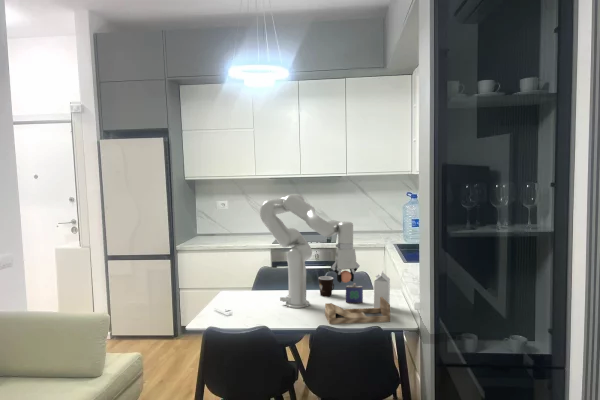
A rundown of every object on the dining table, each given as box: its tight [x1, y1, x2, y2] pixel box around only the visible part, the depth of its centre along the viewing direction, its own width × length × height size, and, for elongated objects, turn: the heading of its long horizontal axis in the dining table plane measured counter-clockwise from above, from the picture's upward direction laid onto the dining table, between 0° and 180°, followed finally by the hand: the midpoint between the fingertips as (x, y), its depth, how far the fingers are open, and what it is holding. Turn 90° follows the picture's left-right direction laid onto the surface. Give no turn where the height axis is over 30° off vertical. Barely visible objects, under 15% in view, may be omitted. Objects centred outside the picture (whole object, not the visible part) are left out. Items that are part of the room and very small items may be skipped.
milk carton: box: [373, 270, 391, 308], centre depth 215 cm, size 7×7×19 cm
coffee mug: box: [318, 275, 335, 298], centre depth 237 cm, size 12×9×10 cm
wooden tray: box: [324, 297, 391, 325], centre depth 201 cm, size 29×13×8 cm, turn 96°
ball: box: [340, 270, 351, 284], centre depth 210 cm, size 6×6×6 cm
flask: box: [345, 282, 364, 304], centre depth 225 cm, size 9×3×11 cm, turn 87°
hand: (345, 281), depth 210 cm, fingers closed on ball, 6 cm apart
